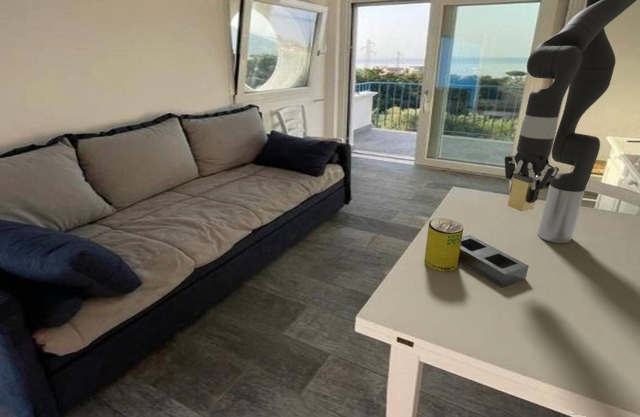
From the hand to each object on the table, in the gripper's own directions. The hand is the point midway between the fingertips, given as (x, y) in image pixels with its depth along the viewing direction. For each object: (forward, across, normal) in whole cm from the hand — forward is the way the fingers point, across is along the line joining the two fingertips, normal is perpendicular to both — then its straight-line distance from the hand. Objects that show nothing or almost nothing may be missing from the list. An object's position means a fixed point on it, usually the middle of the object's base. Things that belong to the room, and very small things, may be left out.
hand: (522, 198), depth 99 cm
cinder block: (+20, +3, +7) cm, 21 cm away
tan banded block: (+2, 0, 0) cm, 2 cm away
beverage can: (+20, +8, +17) cm, 28 cm away
